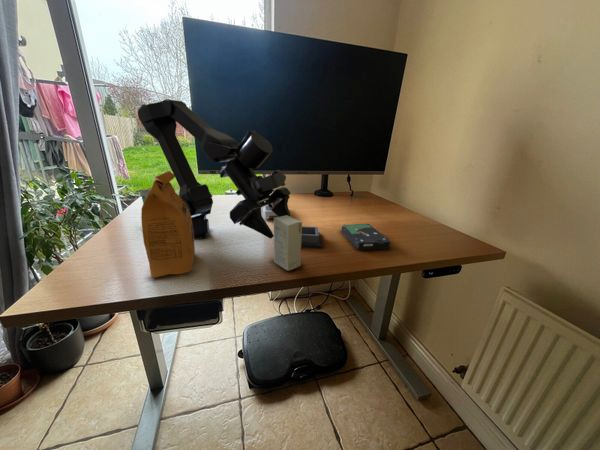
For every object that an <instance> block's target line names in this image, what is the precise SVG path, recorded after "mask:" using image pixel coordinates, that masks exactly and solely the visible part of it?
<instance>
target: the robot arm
mask: <svg viewBox="0 0 600 450" xmlns="http://www.w3.org/2000/svg"><path fill="white" fill-rule="evenodd" d="M137 117H138V120H139V121H140V123H141V125H142V126H143V128H144V130H145V131H146V132H147V133H148V134H149V135H150V136H152V137H153V138H154V139H155V140H157V143H158V144H159V147H160V149H161V151H162V153H163V155H164V157H165V160H166V161H167V164H168V166H169V167H170V171H171V173H172V174H174V176H175V177H174V179H175V181H176V182H177V184H178V186H179V192H178V195H179V196H180V197H181V199H182V200H183V201H184V202H185V204H186V205H187V207H188V210H189V212H190V215H191V219H192V225H193V230H194V239H206V238H207V236H208V234H209V233H210V223H209V221H210V220H209V218H207V215H211V212H212V207H213V204H214V200H213V194H211V192H210V189H209V187H208V185H207V184H206V183H204V184H201V182H199V181H197V178H196V177H195V174H194V172H193V169H192V167H191V165H190V163H189V160H188V159H187V157H186V154H185V152H184V150H183V148H182V146H181V144H180V141H179V139H178V136H177V135H176V132H177V127H178V125H177V124H179V125H180V126H181V127H182V128H183V129H184V130H185V131H186V132H188V133H189V135H191V136H193V138H195V139H196V141H198V142H199V143H200V145H201V151H203V153H205V155H206V156H207V158H208V159H209V160H210V161H211V162H213V163H224V162H225V163H226V162H227V163H226V164H225V165H223V166H220V173H219V177H220V178H227V177H228V178H229V179H230V180H231V182H232V184H233V185H234V186H235V187H236V189H237V190H236V191H235V194H236V195H237V196H242V197H243V199H242V200H239V201H238V202H237V203H236V204H235V206H233V208H231V210H230V211H229V219H230V220H231V222H232V223H233V224H234V225H236V224H238V225H239V226H244V227H247V228H249V229H251V230H254V231H256V232H257V233H260V234H261V235H263V236H265V237H266V238H268V239H270V240H271V239H274V232H273V231H272V229H271V228H270V226H269V225H268V223H267V222H266V221H265V220H266V219H265V218H264V216H263V214H262V208H263V207H264V206H266V205H268V206H269V207H271V208H272V209H271V211H273V212H274V213H275V214H276V215H277V216H278V217H281V216H286V215H288V216H290V217H292V216H291V213H290V209H289V206H288V204H289V200H290V198H291V197H290V195H291V194H292V193H291V191H290V190H289V188H288V187H284V186H286V179H287V175H285V174H284V172H283V171H282V170H281V169H276V170H275V171H271V174H270V175H266V176H262V175H257V174H256V173H255V172H254V170H253V169H259V168H260V167H261V165H262V164H263V163H264V162H265V160H267V159H268V157H269V156H270V155H271V154H272V153H273V152H274V151H273V150H274V149H273V146H272V144H271V142H270V141H269V140H267V139H266V138H265V137H264V136H262V135H260V134H258V133H257V131H256V130H248V131H247V132H246V134H245V136H244V137H243V139H242V140H241V142H238V141H237V140H236V139H235V138H233V137H231V136H230V135H228V134H227V133H224V132H221V131H219V130H216V129H214V128H213V127H212V126H211V125H210V124H209V123H207V122H206V121H205V120H203V118H202V117H200V116H199V115H197V113H195V112H194V111H193V110H192V109H191V108H190V107H188V106H187V104H186V103H185V102H184V101H182V100H179V99H171V98H166V99H163V100H161V101H158V102H157V101H156V102H151V103H143V104H141V106H140V107H139V108H138V109H137Z"/></svg>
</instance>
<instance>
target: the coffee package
mask: <svg viewBox="0 0 600 450" xmlns="http://www.w3.org/2000/svg"><path fill="white" fill-rule="evenodd" d="M174 179H175V176H174V174H173V172H172V171H171V170H166V171H165V172H163V173H160V174H158V175H156V176H154V180H153V184H152V186H151V187H152V188H151V187H150V188H151V189H150V191H149V193H148V195H147V197H146V199H145V200H144V203H143V202H142V207H141V217H140V218H141V219H140V220H141V231H142V239H143V241H142V242H143V244H144V249H145V252H146V255H147V256H146V257H147V260H148V264H149V271H150V277H151V278H154V279H155V278H159V277H165V276H168V275H182V274H185V273H189V272H191V271H192V269H193V265H194V260H195V253H196V247H195V246H196V245H195V238H194V230H193V225H192V219H191V215H190V212H189V210H188V207H187V205H186V204H185V202H184V201H183V200H182V199H181V197H180V196H179V193H177V192H176V190H175V188H174V186H173V185H172V182H171V181H173V180H174Z"/></svg>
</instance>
